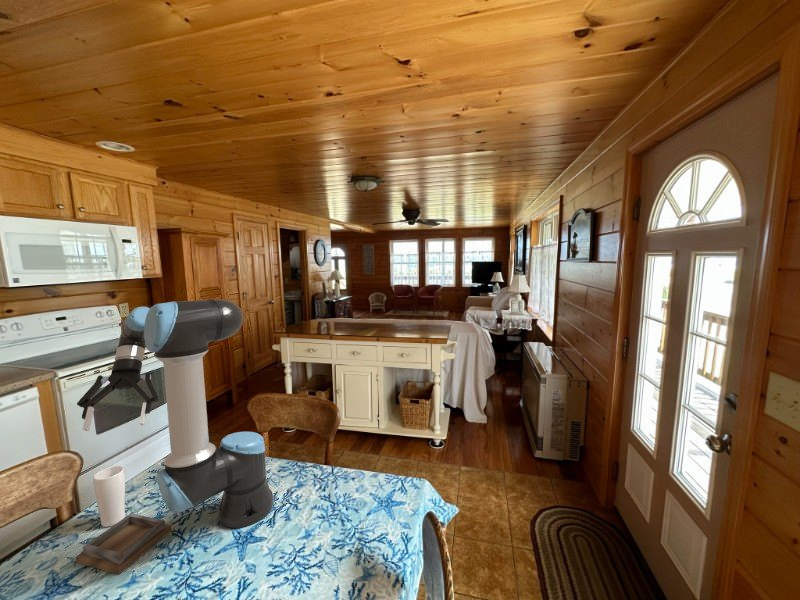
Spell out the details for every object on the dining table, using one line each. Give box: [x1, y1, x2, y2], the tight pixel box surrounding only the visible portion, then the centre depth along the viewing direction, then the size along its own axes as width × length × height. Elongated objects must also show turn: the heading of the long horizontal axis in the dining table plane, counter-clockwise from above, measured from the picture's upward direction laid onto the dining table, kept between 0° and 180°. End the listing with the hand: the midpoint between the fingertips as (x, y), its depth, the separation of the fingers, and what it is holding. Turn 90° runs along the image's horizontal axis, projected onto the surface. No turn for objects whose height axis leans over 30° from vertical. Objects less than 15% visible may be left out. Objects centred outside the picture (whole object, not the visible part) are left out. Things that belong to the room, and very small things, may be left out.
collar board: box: [75, 512, 173, 575], centre depth 88 cm, size 14×14×4 cm
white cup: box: [92, 465, 126, 528], centre depth 96 cm, size 7×7×15 cm
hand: (114, 427), depth 102 cm, fingers open, 13 cm apart
